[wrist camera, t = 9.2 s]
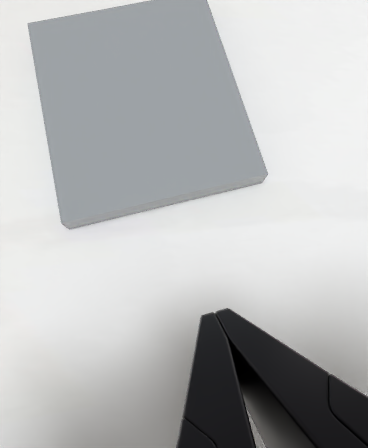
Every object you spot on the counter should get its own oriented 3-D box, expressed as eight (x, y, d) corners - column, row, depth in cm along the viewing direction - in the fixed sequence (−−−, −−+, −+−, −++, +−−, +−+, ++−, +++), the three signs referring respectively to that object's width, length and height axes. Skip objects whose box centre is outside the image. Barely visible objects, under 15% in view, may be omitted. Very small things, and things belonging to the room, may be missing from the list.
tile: (268, 174, 18) (203, -10, 21) (61, 223, 17) (27, 23, 20) (260, 185, 20) (201, 14, 23) (72, 231, 19) (39, 45, 22)
